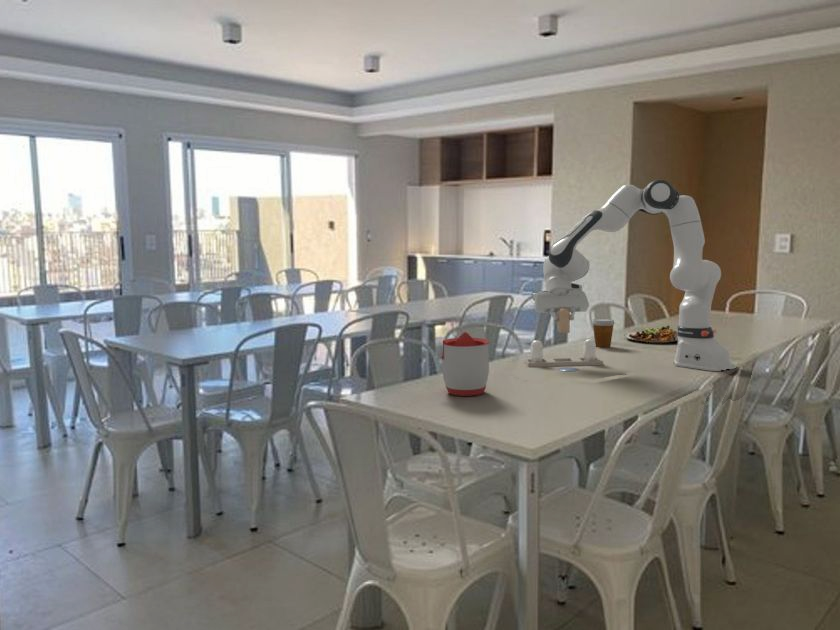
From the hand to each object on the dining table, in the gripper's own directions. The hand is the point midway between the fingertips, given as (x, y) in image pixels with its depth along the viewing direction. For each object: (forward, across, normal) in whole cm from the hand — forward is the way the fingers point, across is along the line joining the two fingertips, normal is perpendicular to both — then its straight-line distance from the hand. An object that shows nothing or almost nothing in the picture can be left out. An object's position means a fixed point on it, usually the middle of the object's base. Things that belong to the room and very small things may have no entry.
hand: (564, 319), depth 261 cm
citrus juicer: (+38, -41, -12) cm, 57 cm away
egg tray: (+12, 0, +14) cm, 18 cm away
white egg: (+11, -10, +13) cm, 20 cm away
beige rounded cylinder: (+3, 0, +4) cm, 5 cm away
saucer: (+20, -1, +6) cm, 21 cm away
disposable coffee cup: (-16, +26, +42) cm, 52 cm away
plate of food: (-27, +56, +53) cm, 82 cm away
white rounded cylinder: (+11, +10, +13) cm, 20 cm away
